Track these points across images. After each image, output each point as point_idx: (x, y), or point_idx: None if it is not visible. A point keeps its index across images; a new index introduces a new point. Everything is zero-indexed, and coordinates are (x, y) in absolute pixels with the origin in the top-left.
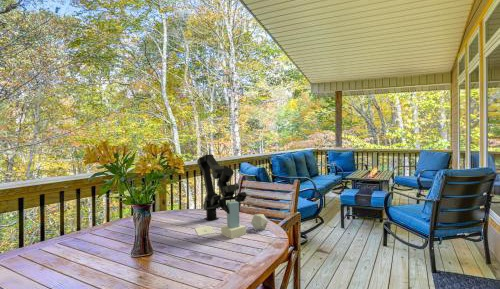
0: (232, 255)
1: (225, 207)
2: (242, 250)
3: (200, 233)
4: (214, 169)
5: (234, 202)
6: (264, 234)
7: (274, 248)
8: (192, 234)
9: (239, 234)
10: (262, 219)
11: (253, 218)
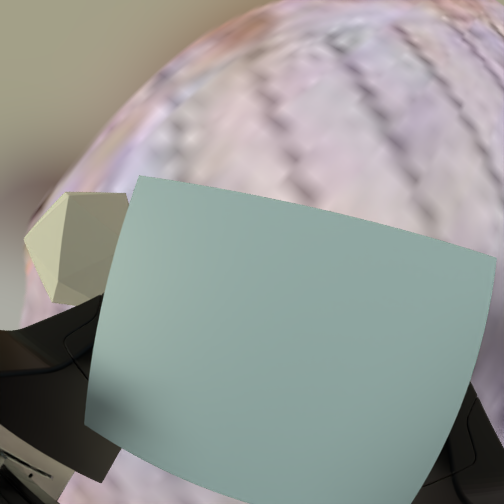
0: (473, 79)
1: (473, 389)
2: (417, 77)
3: None
4: None
5: (253, 281)
6: (168, 159)
7: (284, 18)
8: None
9: None
10: (79, 193)
11: (94, 262)
